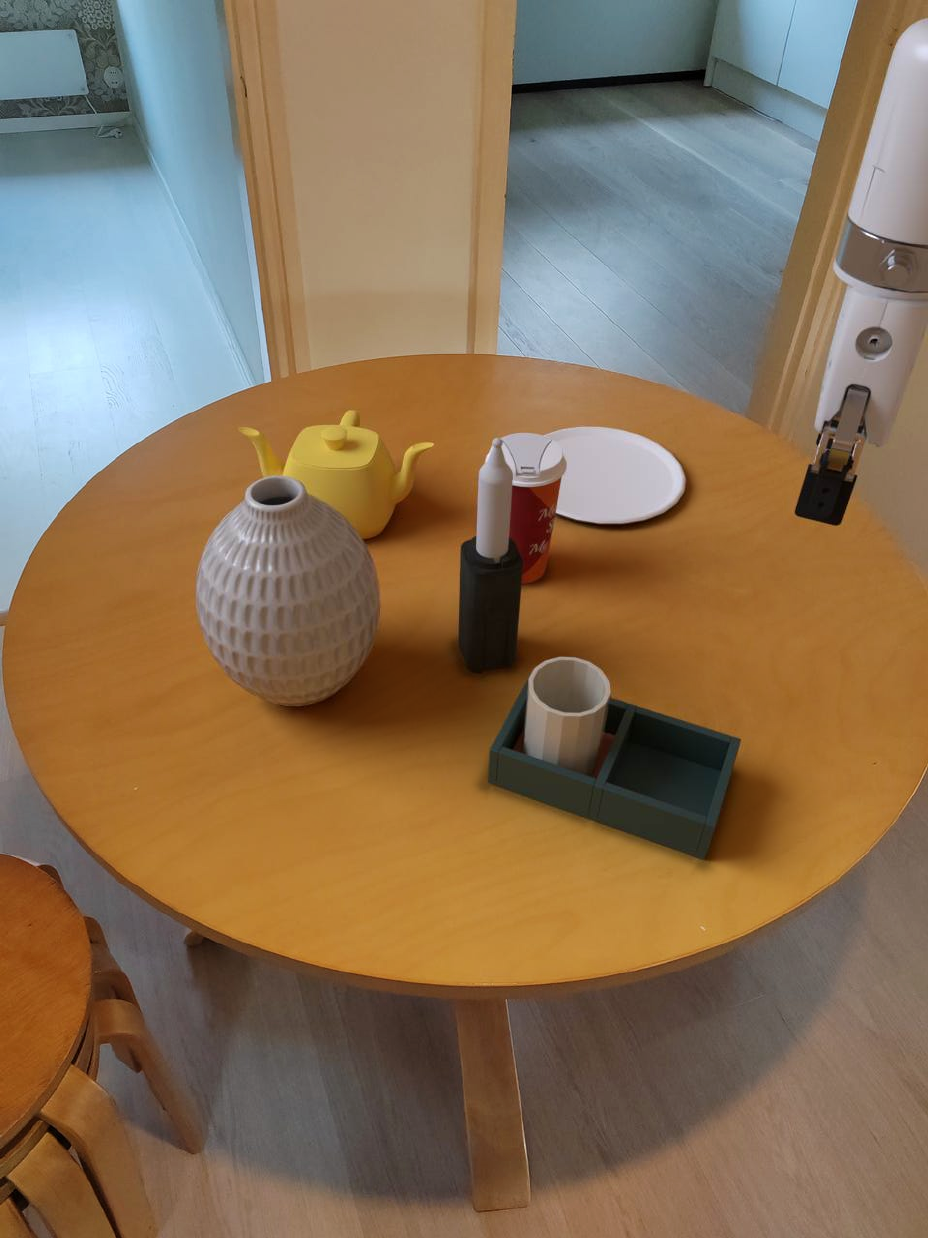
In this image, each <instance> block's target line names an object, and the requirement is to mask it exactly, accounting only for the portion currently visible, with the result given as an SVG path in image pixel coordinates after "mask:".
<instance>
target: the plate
mask: <svg viewBox="0 0 928 1238" xmlns="http://www.w3.org/2000/svg"><path fill="white" fill-rule="evenodd" d="M542 436H545V437H547V438H550V439H552V440H554V441H555V442H556V443H558V445H559V446H560V447H561V449H562V451H563V456H564V458H565V460H566V463H567V468H566V471H565V473H564V475H563V476H562V478H561V484H560V490H559V496H558V502H557V508H556V514H555V515H557V516H561V517H563V518H565V519H569V520H572V521H575V522H580V523H586V524H592V525H598V526H599V525H600V526H624V525H630V524H636V523H641V522H646V521H649V520H651V519H654V518H656V517H659V516H661V515H664V514H665V513H667V512H668V511H669V510H670V509H672V508H674V507H675V506H676V505H677V504H678V502H679V501H680V499H681V498H682V496H683V495H684V494H685V490H686V489H685V488H686V483H687V478H686V473H685V472H684V469H683V466H682V465H681V463H680V462H679V461H678V459H676V457H675V456H674V454H673V453H671V452H670V451H669V450H668V449H667V448H665V447H664V446H663V445H661V444H660V443H658V442H656V441H653V440H652V439H649V438H647V437H645V436H643V435H641V434H637V433H634V432H630V431H627V430H623V429H619V428H611V427H606V426H577V427H576V426H575V427H569V428H561V429H559V430H555V431H552V432H549V433H546V434H543V435H542Z"/></svg>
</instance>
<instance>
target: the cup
mask: <svg viewBox="0 0 928 1238" xmlns="http://www.w3.org/2000/svg"><path fill="white" fill-rule="evenodd" d="M531 672H532V674H531V673H530V674H531V675H530V674H529V676H530V677H529V676H528V677H529V680H528V691H527V702H526V713H525V723H524V734H523V752H522V753H523V754H526V755H529V756H532V757H534V758H537V759H540V760H543V761H546V762H549V763H552V764H555V765H558V766H561V767H563V768H566V769H569V770H572V771H575V772H578V773H581V774H584V775H587V776H590V775H591V774H592V773H593V772H594V770H595V769H596V767H597V764H598V760H599V757H600V752H601V746H602V740H603V735H604V729H605V723H606V718H607V712H608V706H609V701H610V697H611V693H612V691H611V683H610V679H609V678H608V677H607V675H606V674H605V672H604V671H603V670H602V669H601V668H600V667H598V666H597V665H595V664H594V663H593V662H591V661H588V660H585V659H582V658H579V657H574V656H557V657H553V658H550V659H545V660H543V662H540V664H538V665H537V666H535V667H534V668H533V669H532V671H531Z"/></svg>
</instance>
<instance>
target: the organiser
mask: <svg viewBox="0 0 928 1238" xmlns="http://www.w3.org/2000/svg"><path fill="white" fill-rule="evenodd" d="M532 672H533V671H531V672H530V674H529V676H528V677H527V679H526V681H525V683H524V685H523V686H522V689H521V690H520V692H519V694H518V696H517V697H516V700H515V702H514V703H513V705H512V708H510V711H509V712H508V714H507V717H506V718H505V720H504V722H503V723H502V726H501V728H500V729H499V731H498V733H497V735H496V737H495V739H494V740H493V743H492V744H491V746H490V748H489V754H488V755H489V757H488V773H487V774H488V775H487V784H489V785H493V786H495V787H497V788H501V789H503V790H505V791H508V792H512V793H515V794H518V795H520V796H523V797H526V798H528V799H532V800H534V801H537V802H540V803H543V804H546V805H549V806H551V807H554V808H557V809H560V810H563V811H565V812H568V813H571V814H574V815H576V816H579V817H581V818H585V819H587V820H591V821H593V822H596V823H599V824H601V825H605V826H607V827H610V828H613V829H616V830H619V831H622V832H625V833H627V834H630V835H633V836H636V837H638V838H641V839H644V840H647V841H648V842H649V841H650V842H652V843H655V844H658V845H661V846H663V847H665V848H669V849H672V850H674V851H678V852H681V853H683V854H686V855H689V856H691V857H695V858H697V859H700V860H703V861H705V860H706V857H707V855H708V852H709V848H710V845H711V842H712V839H713V836H714V832H715V830H716V827H717V823H718V819H719V816H720V814H721V813H720V812H721V809H722V806H723V803H724V801H725V800H724V799H725V796H726V793H727V789H728V786H729V782H730V779H731V775H732V773H733V769H734V765H735V762H736V759H737V755H738V752H739V748H740V745H741V742H742V739H741V738H739V737H737V736H734V735H730V734H727V733H723V732H722V731H721V732H720V731H717V730H714V729H711V728H708V727H704V726H701V725H698V724H695V723H692V722H689V721H686V720H682V719H679V718H676V717H673V716H670V715H667V714H664V713H660V712H658V711H654V710H651V709H648V708H645V707H643V706H638V705H636V704H633V703H628V702H626V701H624V700H619V699H616V698H613V697H611V696H610V701H609V706H608V712H607V718H606V723H605V729H604V735H603V740H602V746H601V752H600V757H599V760H598V764H597V767H596V769H595V770H594V772H593V773H592V774H591V775H590V776H587V775H584V774H581V773H578V772H575V771H572V770H569V769H566V768H563V767H561V766H558V765H555V764H552V763H549V762H546V761H543V760H540V759H537V758H534V757H532V756H529V755H526V754H523V753H522V752H523V734H524V723H525V713H526V702H527V691H528V680H529V677H530V675H531V674H532Z"/></svg>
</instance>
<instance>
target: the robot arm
mask: <svg viewBox="0 0 928 1238" xmlns="http://www.w3.org/2000/svg"><path fill="white" fill-rule="evenodd" d="M881 88H882V89H881V92H880V96H879V99H878V103H877V107H876V110H875V113H874V118H873V121H872V125H871V128H870V132H869V136H868V140H867V143H866V147H865V150H864V154H863V157H862V161H861V165H860V168H859V171H858V175H857V179H856V181H855V185H854V188H853V192H852V197H851V200H850V203H849V207H848V212H847V213H846V218H845V221H844V224H843V227H842V232H841V234H840V235H841V236H840V239H839V242H838V246H837V250H836V254H835V258H834V261H833V264H832V269H833V272H834V274H835V276H836V277H837V278H838V279H839V280H841V281H842V282H843V283H845V284H846V285H847V286H846V290H845V294H844V297H843V300H842V305H841V308H840V311H839V315H838V317H837V322H836V326H835V330H834V332H833V333H834V334H833V337H832V341H831V343H830V348H829V352H828V357H827V360H826V361H827V362H826V365H825V370H824V374H823V378H822V383H821V388H820V394H819V399H818V402H817V409H816V415H815V420H814V426H813V428H814V429H815V431H816V432H817V434H818V435H817V438H816V441H815V444H816V446H817V449H816V453H815V456H814V459H813V462H812V464H811V463H808V466H807V469H806V472H805V476H804V479H803V482H802V485H801V488H800V492H799V495H798V499H797V501H796V506H795V508H794V515H795V516H796V517H798V518H803V519H807V520H811V521H815V522H818V523H822V524H826V525H830V526H834V527H837V526H840V525H841V524H842V522H843V520H844V518H845V517H844V516H845V514H846V511H847V507H848V505H849V502H850V500H851V496H852V493H853V490H854V488H855V485H856V482H857V478H858V474H856V471H857V468H858V466H859V462H860V459H861V456H862V452H863V449H864V446H865V443H866V442H867V444H868V445H875V446H876V448H878V449H879V448H882V447H884V446H886V445H887V444H889V440H890V437H891V434H892V431H893V428H894V425H895V422H896V420H897V416H898V413H899V410H900V408H901V404H902V402H903V399H904V396H905V393H906V390H907V387H908V384H909V381H910V379H911V376H912V373H913V370H914V367H915V364H916V362H917V359H918V355H919V352H920V350H921V347H922V345H923V341H924V338H925V335H926V332H927V328H928V17H926V18H922V19H920V20H917V21H915V22H914V23H912V24H911V25H909V26H908V27H907V28H906V29H905V30H904V32H903V33H902V34H901V35H900V37H899V38H898V39H897V42H896V44H895V46H894V48H893V51H892V54H891V57H890V60H889V63H888V66H887V69H886V74H885V78H884V81H883V85H882V87H881Z"/></svg>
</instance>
